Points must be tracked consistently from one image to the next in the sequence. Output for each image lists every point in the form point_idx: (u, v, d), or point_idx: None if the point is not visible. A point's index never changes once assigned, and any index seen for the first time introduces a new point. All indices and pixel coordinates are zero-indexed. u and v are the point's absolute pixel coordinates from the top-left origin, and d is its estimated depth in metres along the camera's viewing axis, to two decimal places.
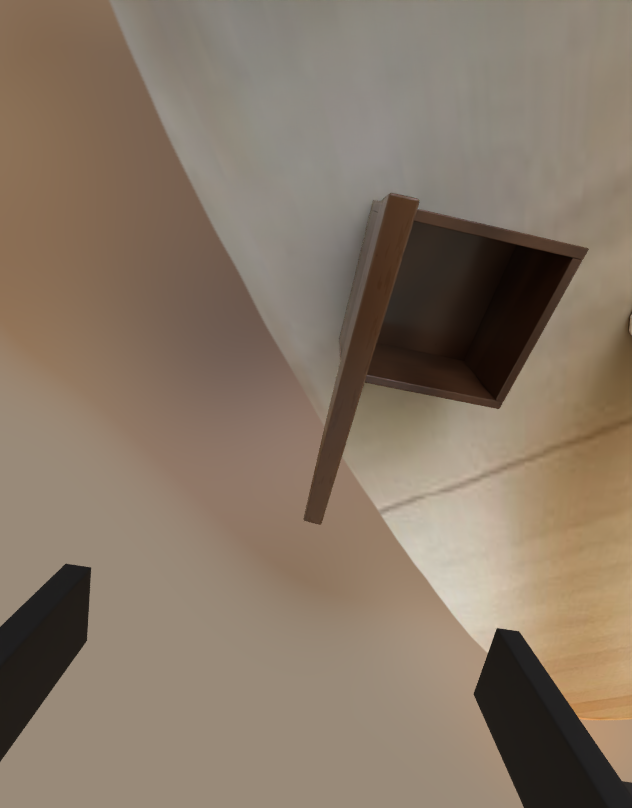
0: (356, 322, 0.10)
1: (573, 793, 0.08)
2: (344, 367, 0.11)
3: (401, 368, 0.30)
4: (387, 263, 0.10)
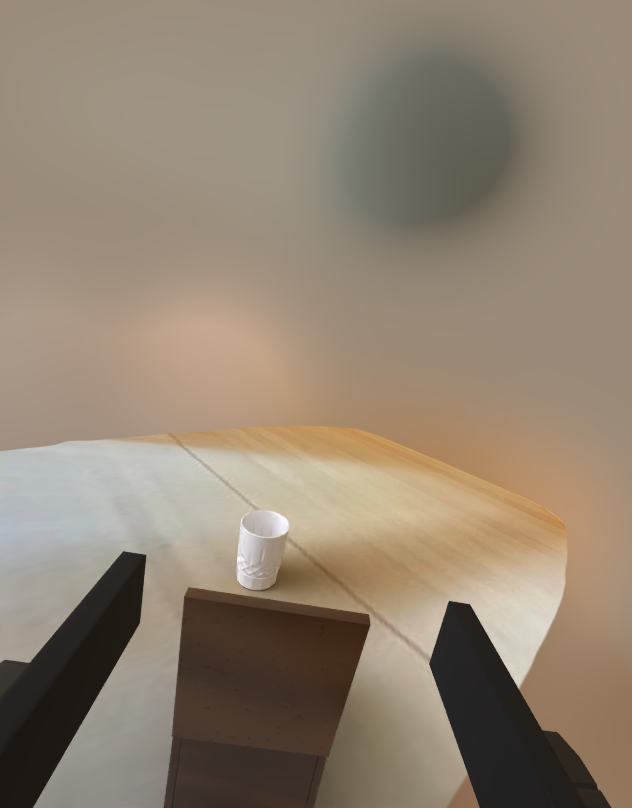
0: (236, 604, 0.23)
1: (498, 739, 0.09)
2: (259, 607, 0.23)
3: None
4: (210, 594, 0.23)
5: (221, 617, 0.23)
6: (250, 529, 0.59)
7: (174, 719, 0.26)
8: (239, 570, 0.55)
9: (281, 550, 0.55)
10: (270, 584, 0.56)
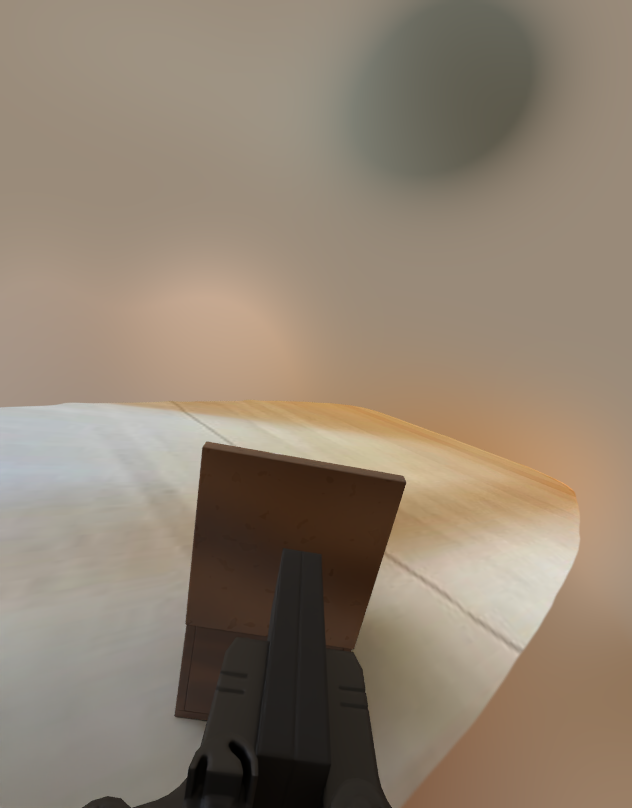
0: (259, 456, 0.21)
1: None
2: (285, 461, 0.21)
3: None
4: (231, 448, 0.21)
5: (242, 473, 0.21)
6: None
7: (188, 602, 0.24)
8: None
9: None
10: None
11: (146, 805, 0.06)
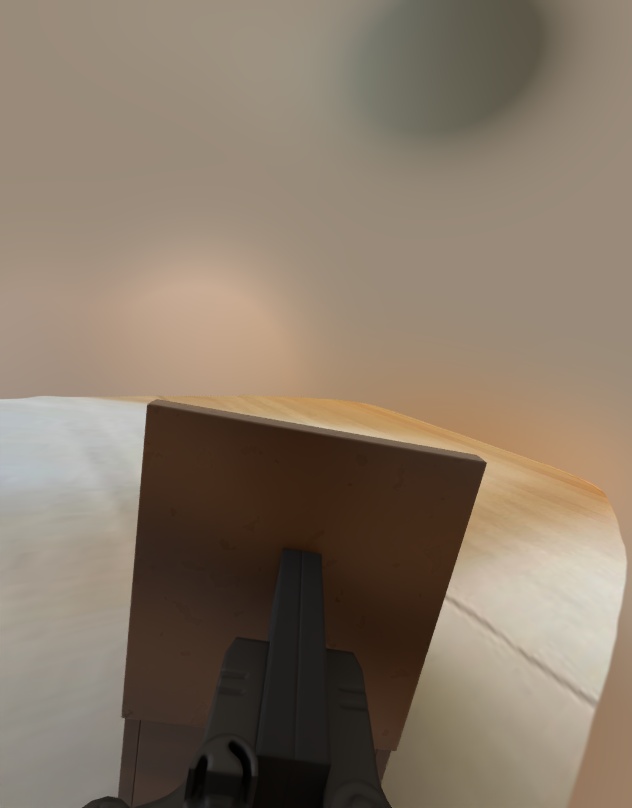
0: (244, 420, 0.12)
1: None
2: (287, 428, 0.12)
3: None
4: (197, 408, 0.13)
5: (215, 450, 0.12)
6: None
7: (126, 680, 0.15)
8: None
9: None
10: None
11: (146, 805, 0.06)
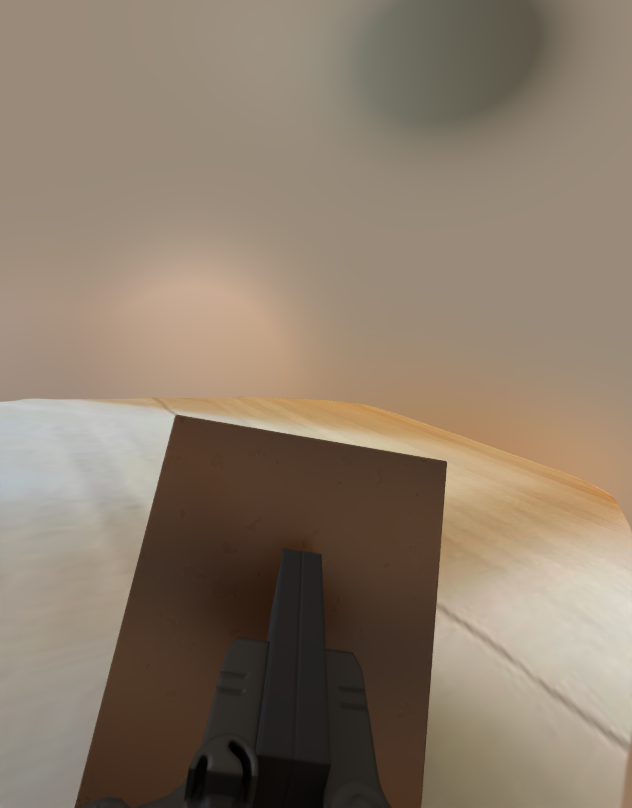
0: (252, 428, 0.15)
1: None
2: (286, 434, 0.15)
3: None
4: None
5: (227, 453, 0.15)
6: None
7: (93, 743, 0.12)
8: None
9: None
10: None
11: (146, 805, 0.06)
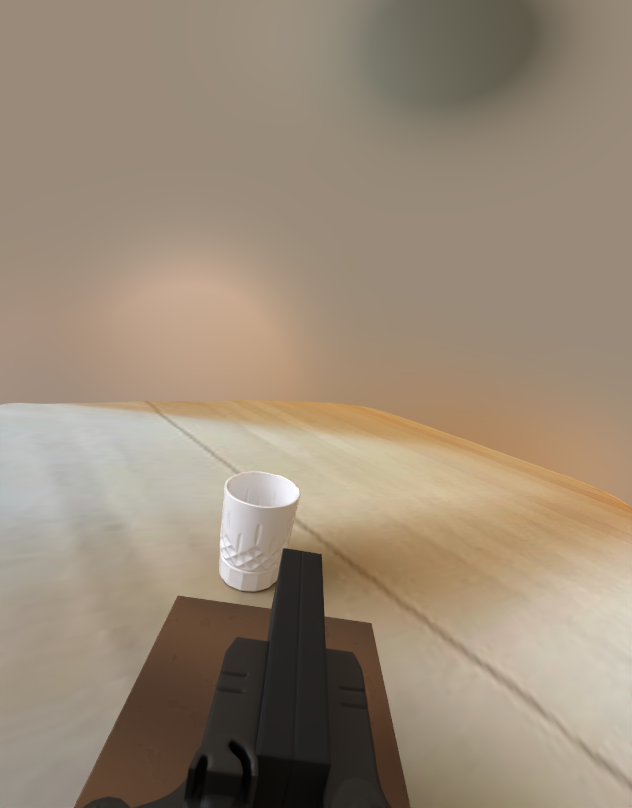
0: (232, 603, 0.22)
1: None
2: (256, 607, 0.22)
3: None
4: None
5: (213, 617, 0.20)
6: (240, 500, 0.39)
7: None
8: (222, 560, 0.36)
9: (287, 529, 0.35)
10: (270, 582, 0.36)
11: (146, 805, 0.06)
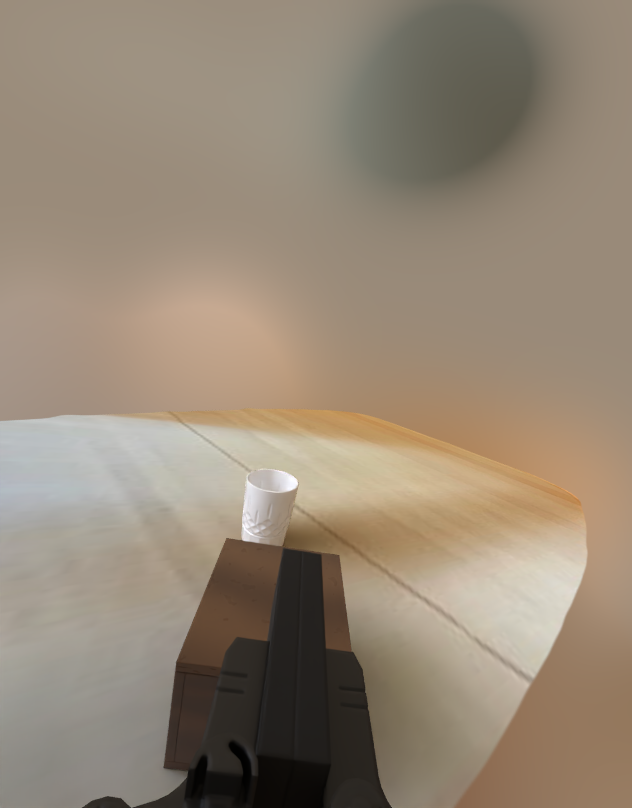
0: (257, 543, 0.38)
1: None
2: (271, 545, 0.38)
3: None
4: None
5: (248, 548, 0.36)
6: None
7: (188, 635, 0.25)
8: (245, 530, 0.52)
9: (290, 508, 0.51)
10: (278, 545, 0.52)
11: (146, 805, 0.06)
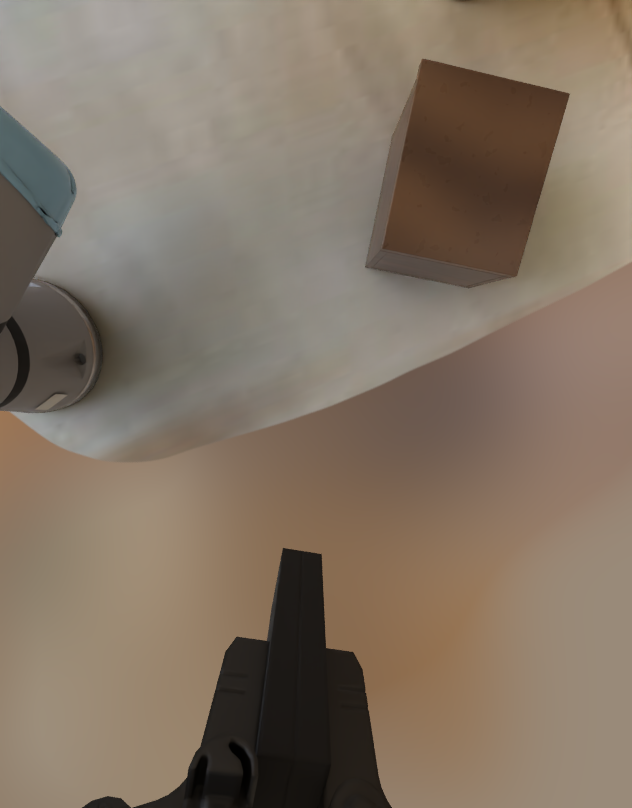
0: (463, 68, 0.28)
1: None
2: None
3: None
4: None
5: (449, 84, 0.28)
6: None
7: (388, 223, 0.30)
8: None
9: None
10: None
11: (146, 805, 0.06)
